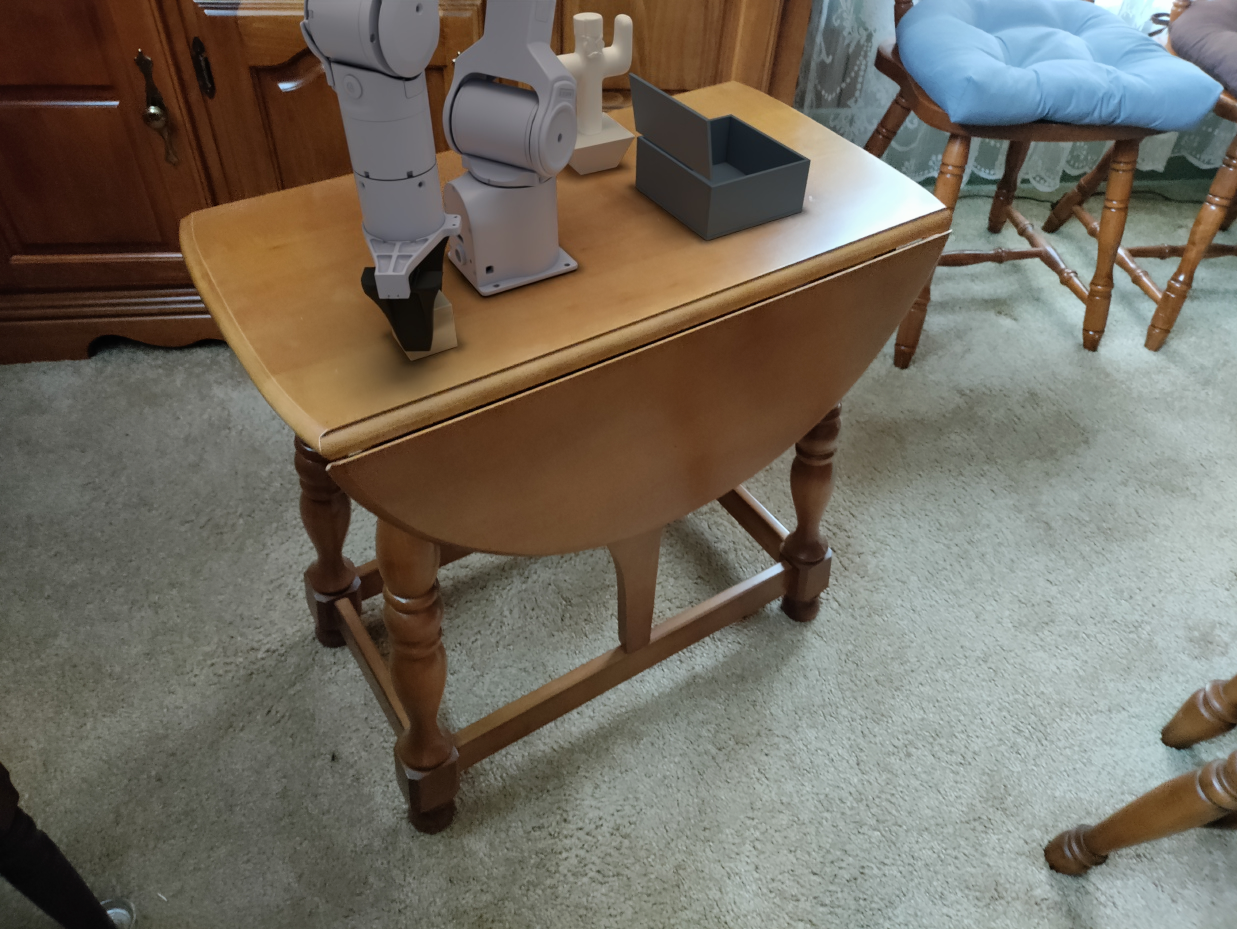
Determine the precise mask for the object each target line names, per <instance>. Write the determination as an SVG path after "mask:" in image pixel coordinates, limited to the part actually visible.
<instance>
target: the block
mask: <svg viewBox="0 0 1237 929" xmlns="http://www.w3.org/2000/svg"><path fill="white" fill-rule="evenodd" d="M453 310H454V309H453V304H452V303H451V301H449V299H448V298H447V296H446V295H444V293H443V291H442V292H441V291H440V290H439V291H438V294H437V296H436V298H435V301H434V328H433V341H432V346H431V351H415V352H405V351H404V349H403V348H402V346H401V344H400V342H399V341H398V339H397V337H396V335H395V332H394V330H393V328H392V326H391V325H390V328H391V333H392V337H393V338H394V339H395V341H396V342H397V344H398V345H399V346H400V348H401V349H402V350H403V352H404V353H405V355H406V357H407V358H408V359H409V361H410V362H413V361H415V360H419V359H422V358H425V357H429V356H431V355H435V354H438V353H440V352H441V353H442V352H444V351H447V350H450V349H454V348H457V347H458V339H457V338H458V337H457V332H456V324H455V318H454V311H453Z"/></svg>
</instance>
